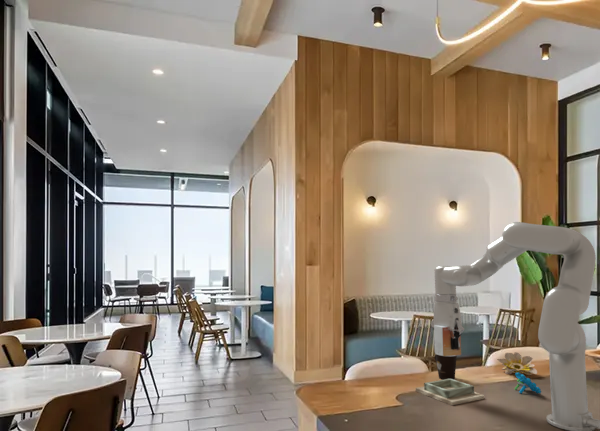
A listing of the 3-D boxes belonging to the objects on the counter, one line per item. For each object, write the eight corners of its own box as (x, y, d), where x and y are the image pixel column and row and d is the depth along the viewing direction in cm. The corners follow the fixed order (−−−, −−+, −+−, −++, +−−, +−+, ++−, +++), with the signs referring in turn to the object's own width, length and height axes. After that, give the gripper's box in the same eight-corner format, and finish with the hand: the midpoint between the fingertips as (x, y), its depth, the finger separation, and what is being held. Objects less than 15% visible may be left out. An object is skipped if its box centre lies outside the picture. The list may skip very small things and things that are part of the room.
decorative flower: (498, 372, 185) (498, 348, 188) (495, 372, 195) (496, 349, 198) (538, 378, 180) (537, 353, 183) (533, 378, 190) (532, 354, 193)
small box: (442, 356, 158) (441, 327, 159) (434, 353, 163) (433, 325, 164) (461, 355, 160) (460, 326, 161) (452, 352, 165) (451, 324, 166)
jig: (484, 398, 156) (483, 387, 156) (451, 405, 149) (451, 394, 149) (446, 385, 172) (446, 376, 172) (415, 391, 165) (415, 381, 165)
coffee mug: (459, 381, 177) (458, 356, 178) (437, 380, 179) (437, 355, 180) (454, 374, 189) (453, 350, 190) (433, 373, 190) (432, 350, 191)
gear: (547, 392, 157) (526, 372, 159) (537, 405, 156) (516, 384, 158) (531, 388, 168) (511, 369, 169) (522, 399, 167) (501, 380, 168)
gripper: (471, 300, 158) (473, 350, 156) (436, 296, 173) (438, 342, 171) (456, 301, 154) (458, 352, 152) (422, 297, 170) (423, 344, 168)
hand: (447, 347), depth 162 cm, fingers closed on small box, 6 cm apart
